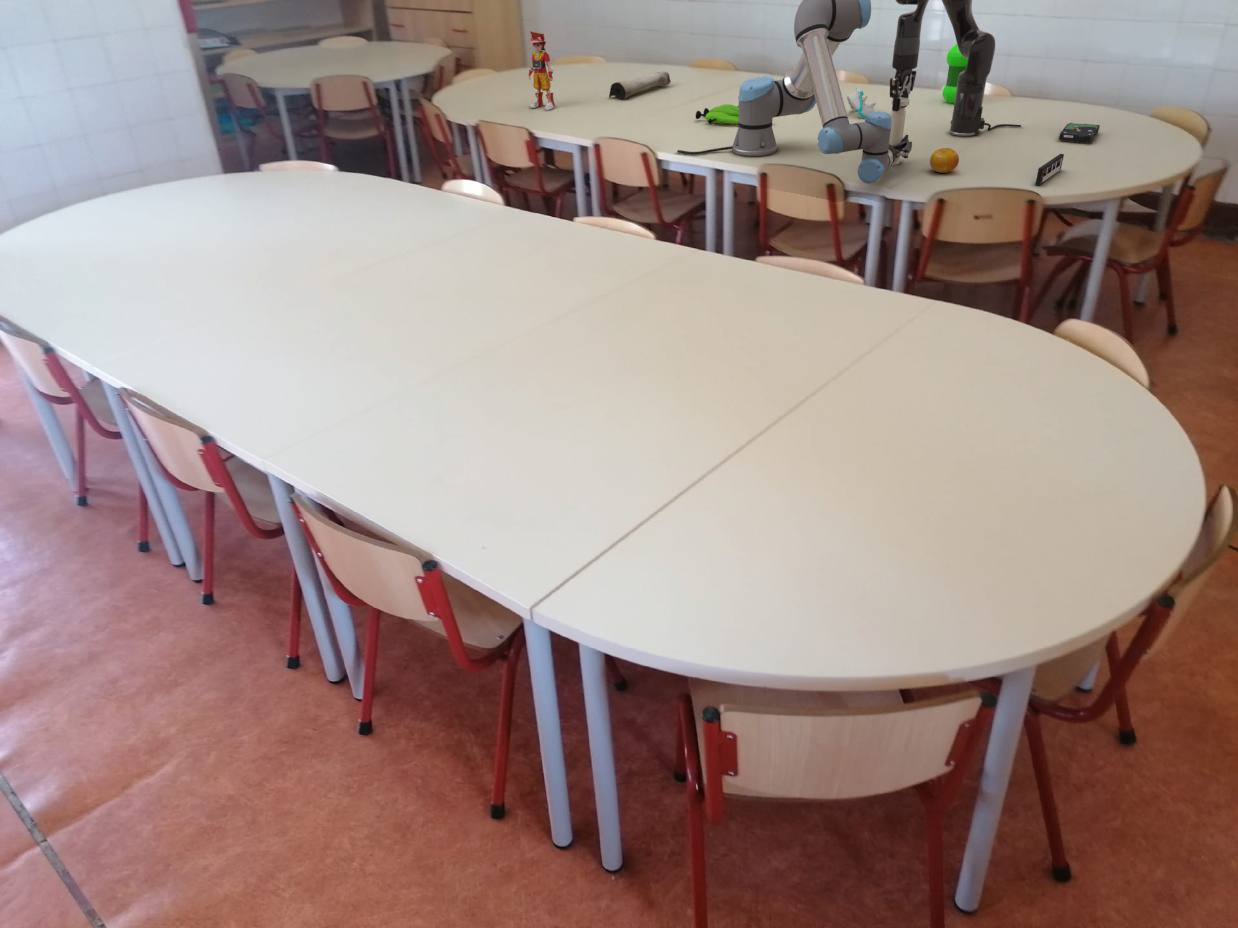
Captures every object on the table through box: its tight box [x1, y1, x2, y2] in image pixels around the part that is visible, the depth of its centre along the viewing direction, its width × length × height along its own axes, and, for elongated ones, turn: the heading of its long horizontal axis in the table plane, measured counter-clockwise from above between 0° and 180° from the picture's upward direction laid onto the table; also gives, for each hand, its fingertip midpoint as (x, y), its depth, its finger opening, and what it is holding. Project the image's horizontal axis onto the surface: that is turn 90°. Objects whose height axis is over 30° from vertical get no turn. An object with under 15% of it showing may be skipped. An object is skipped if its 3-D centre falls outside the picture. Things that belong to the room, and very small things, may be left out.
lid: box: [891, 97, 910, 107], centre depth 284 cm, size 5×5×2 cm
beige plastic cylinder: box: [889, 106, 907, 166], centre depth 290 cm, size 4×4×17 cm
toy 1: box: [527, 31, 556, 111], centre depth 374 cm, size 12×9×30 cm
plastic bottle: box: [942, 43, 968, 104], centre depth 348 cm, size 10×10×25 cm
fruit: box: [929, 147, 960, 174], centre depth 283 cm, size 8×8×8 cm
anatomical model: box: [846, 87, 877, 119], centre depth 344 cm, size 15×10×10 cm
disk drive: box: [1058, 122, 1101, 144], centre depth 307 cm, size 10×3×15 cm
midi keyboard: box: [1035, 153, 1065, 186], centre depth 273 cm, size 18×1×5 cm, turn 138°
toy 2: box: [695, 103, 739, 125], centre depth 347 cm, size 28×5×30 cm
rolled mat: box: [608, 71, 672, 101], centre depth 395 cm, size 30×9×10 cm
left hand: (898, 138), depth 296 cm, fingers closed on beige plastic cylinder, 4 cm apart
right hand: (899, 108), depth 286 cm, fingers closed on lid, 5 cm apart
